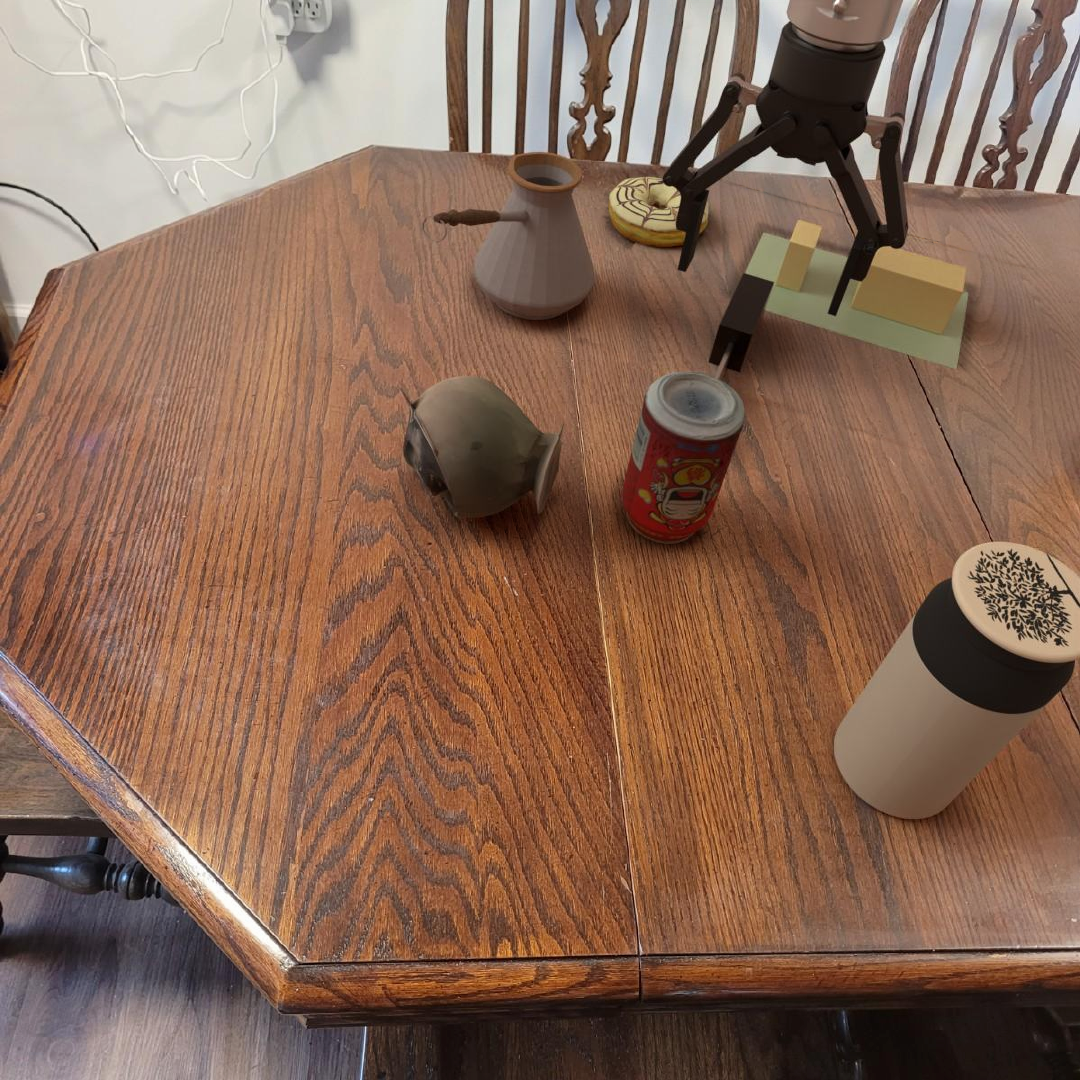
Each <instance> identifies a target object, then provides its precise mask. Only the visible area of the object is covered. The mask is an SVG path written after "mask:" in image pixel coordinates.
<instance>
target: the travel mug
mask: <svg viewBox="0 0 1080 1080" xmlns="http://www.w3.org/2000/svg"><path fill="white" fill-rule="evenodd" d="M951 573H952V574H951V577H949V578H946V579H944V580H942V581H940V582H939V583H937V584H936V585H935V586H933V588H932V589H931V590H930V591H929V593H928V594H927V595H926V597H925V598H924V600H923V601H922V603H921V605H920V606H919V607H918V609H917V610H916V612H915V613H914V615H913V616H912V617H911V619H910V621H909V622H908V624H907V625H906V626H905V628H904V629H903V631H902V633H901V634H900V635H899V637H898V638H897V640H896V641H895V642H894V644H893V645H892V647H891V648H890V650H889V651H888V653H887V655H886V656H885V657H884V659H883V660H882V662H881V663H880V665H879V666H878V668H877V669H876V671H875V672H874V673H873V674H872V676H871V678H870V680H869V681H868V682H867V684H866V686H864V688H863V690H862V691H861V693H860V694H859V696H858V697H857V699H856V700H855V702H854V703H853V704H852V706H851V707H850V709H849V710H848V712H847V713H846V714H845V716H844V718H843V719H842V721H841V722H840V724H839V725H838V727H837V729H836V732H835V735H834V740H833V753H834V758H835V762H836V765H837V768H838V769H839V772H840V774H841V776H842V777H843V779H844V781H845V783H846V784H847V785H848V786H849V788H850V789H851V790H852V791H853V792H854V794H856V796H858V797H859V798H860V799H861V800H863V801H864V802H865V803H867V804H868V805H870V806H871V807H873V808H874V809H876V810H878V811H879V812H882V813H885V814H887V815H890V816H892V817H896V818H900V819H906V820H919V819H925V818H930V817H933V816H935V815H937V814H939V813H940V812H942V811H943V810H944V809H946V808H947V807H948V806H949V805H950V804H951V802H953V801H954V800H955V799H956V798H957V797H958V796H959V795H960V794H961V792H963V790H965V788H966V787H967V786H968V785H969V784H970V783H971V782H972V781H973V780H975V778H976V777H977V776H978V775H979V774H980V773H981V772H983V770H985V768H986V767H987V766H988V765H989V764H990V763H991V762H992V761H993V760H994V759H995V758H996V757H997V756H998V755H999V754H1000V753H1001V752H1002V751H1003V749H1005V748H1006V747H1007V745H1009V743H1010V742H1011V741H1013V740H1014V739H1015V737H1016V736H1018V735H1019V734H1020V733H1021V732H1022V730H1023V729H1024V728H1025V727H1026V726H1027V725H1028V724H1030V722H1031V721H1033V719H1034V718H1035V717H1036V716H1037V715H1038V714H1039V713H1041V711H1042V710H1043V709H1044V708H1045V707H1047V705H1048V704H1049V703H1050V702H1051V701H1052V700H1053V699H1054V698H1055V697H1056V696H1057V695H1058V694H1059V693H1060V692H1061V691H1062V689H1064V688H1065V687H1066V685H1067V684H1068V683H1069V682H1070V680H1071V679H1072V677H1073V674H1074V671H1075V666H1076V660H1079V659H1080V576H1079V575H1078V574H1077V573H1076V572H1075V571H1074V570H1073V569H1071V568H1070V567H1069V566H1068V565H1066V564H1065V563H1063V562H1062V561H1060V560H1059V559H1058V558H1056V557H1054V556H1052V555H1050V554H1048V553H1047V552H1044V551H1041V550H1039V549H1037V548H1034V547H1031V546H1030V545H1029V546H1028V545H1025V544H1021V543H1016V542H1011V541H1010V542H1009V541H990V542H989V541H988V542H984V543H980V544H977V545H974V546H972V547H970V548H968V549H967V550H965V551H964V552H963V553H962V554H961V555H960V556H959V558H958V559H957V560H956V562H955V564H954V566H953V569H952V572H951Z"/></svg>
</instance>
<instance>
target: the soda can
mask: <svg viewBox="0 0 1080 1080" xmlns="http://www.w3.org/2000/svg"><path fill="white" fill-rule="evenodd" d="M745 420H746V409H745V405H744V402H743V400H742V399H741V397H740V395H739V394H738V393H737V392H736V391H735V389H734V388H733V387H731V386H730V385H729V384H727V383H725V382H724V381H723V380H722V379H721V380H719V379H717V378H714V376H711V375H708V374H706V373H703V372H698V371H676V372H670V373H667V374H664V375H662V376H660V377H658V378H657V379H655V380H654V381H653V382H652V383H650V385H649V387H648V388H647V390H646V392H645V395H644V398H643V403H642V407H641V411H640V416H639V419H638V423H637V428H636V432H635V436H634V440H633V444H632V447H631V452H630V456H629V460H628V465H627V470H626V473H625V476H624V477H625V478H624V482H623V485H622V491H621V500H622V501H621V502H622V504H623V507H624V510H625V512H626V518H627V521H628V523H629V524H630V526H631V527H632V529H634V531H635V532H636V533H637V534H639V535H640V536H642V537H644V538H645V539H647V540H650V541H652V542H656V543H659V544H670V545H671V544H678V543H680V542H681V543H682V542H684V541H686V540H688V539H689V538H692V536H693V535H694V534H695V533H696V532H697V531H700V530H701V529H702V528H704V526H705V525H706V524H707V523H708V521H709V520H710V518H711V516H712V515H713V512H714V509H715V506H716V503H717V500H718V498H719V494H720V491H721V489H722V487H723V483H724V480H725V477H726V475H727V472H728V469H729V466H730V463H731V460H732V458H733V454H734V452H735V450H736V447H737V444H738V441H739V439H740V436H741V433H742V430H743V429H744V425H745Z"/></svg>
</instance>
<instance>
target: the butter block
mask: <svg viewBox="0 0 1080 1080" xmlns="http://www.w3.org/2000/svg"><path fill="white" fill-rule="evenodd" d="M967 271H968V269H967V267H963V266H960V265H956V264H953V263H950V262H946V261H944V260H943V261H942V260H939V259H936V258H933V257H929V256H926V255H922V254H919V253H914V252H912V251H908V250H905V249H901V248H899V249H894V248H892V247H891V246H885V247H881V248H879V249H878V250H877V252H876V253H875V256H874V258H873V261H872V263H871V266H870V268H869V271H868V273H867V276H866V278H865V279H864V280H863V281H862V282H860V281H859V282H858V285H857V288H856V291H855V294H854V298H853V301H852V304H851V308H854V309H857V310H860V311H863V312H867V313H870V314H873V315H877V316H880V317H883V318H886V319H890V320H893V321H896V322H900V323H903V324H906V325H909V326H913V327H916V328H919V329H923V330H926V331H929V332H932V333H936V334H939V335H941V334H942V332H943V330H944V328H945V326H946V324H947V322H948V320H949V319H950V317H951V315H952V313H953V311H954V309H955V307H956V305H957V303H958V301H959V299H960V297H961V295H962V293H963V291H964V290H965V289H964V288H965V283H966V276H967Z"/></svg>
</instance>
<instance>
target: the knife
mask: <svg viewBox="0 0 1080 1080" xmlns="http://www.w3.org/2000/svg"><path fill="white" fill-rule="evenodd" d="M773 285H774V282H772V281H769V280H766V279H762V278H759V277H756V276H752V275H749V274H746V273H745V272H742V275H741V277H740V278H739V281H738V283H737V285H736V288H735V289H734V292H733V294H732V297H731V298H730V300H729V302H728V305H727V307H726V309H725V312H724V313H723V316H722V317H721V320H720V322H719V324H718V327H717V331H716V334H715V338H714V341H713V345H712V348H711V352H710V355H709V358H708V361H707V362H708V363H709V364H712V365H715V366H718V368H717V370H716V371H715V375H714V376H713V377H714V378H717V379H719V380H721V381H722V379H723V377H724V374H725V372H726V370H730V371H733V372H736V373H738V374H739V373H741V372H742V369H743V366H744V364H745V361H746V359H747V357H748V354H749V352H750V349H751V347H752V345H753V342H754V340H755V338H756V335H757V332H758V331H759V328H760V325H761V323H762V320H763V318H764V314H765V312H766V311H765V309H766V306H767V303H768V300H769V297H770V294H771V291H772V288H773Z"/></svg>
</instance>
